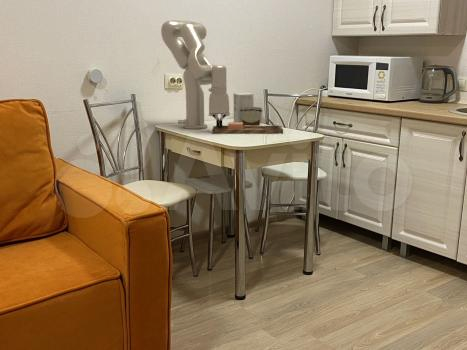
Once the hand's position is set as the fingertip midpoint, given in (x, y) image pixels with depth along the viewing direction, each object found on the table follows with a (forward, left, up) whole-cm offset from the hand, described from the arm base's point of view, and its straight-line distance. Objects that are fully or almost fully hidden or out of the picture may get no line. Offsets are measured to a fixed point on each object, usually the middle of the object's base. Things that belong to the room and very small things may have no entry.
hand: (219, 127), depth 261 cm
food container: (+17, +20, -2) cm, 26 cm away
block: (+8, 0, -2) cm, 9 cm away
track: (+14, 0, -2) cm, 14 cm away
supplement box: (+13, +29, -2) cm, 32 cm away
